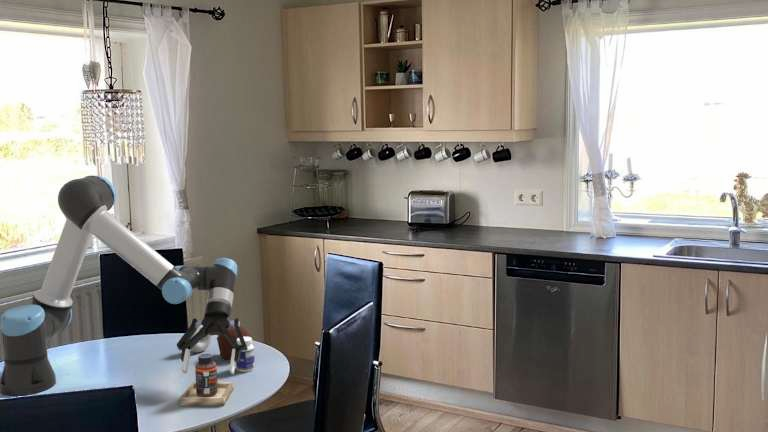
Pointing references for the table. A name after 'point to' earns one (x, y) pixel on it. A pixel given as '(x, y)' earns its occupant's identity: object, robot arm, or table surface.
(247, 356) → the pill bottle
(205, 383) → the supplement bottle
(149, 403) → the table surface
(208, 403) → the birch tray
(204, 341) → the donut
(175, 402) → the table surface
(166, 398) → the table surface
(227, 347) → the muffin
